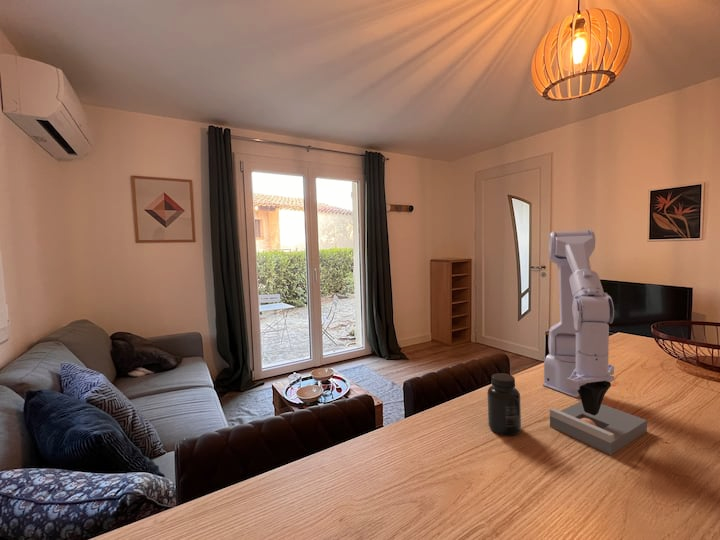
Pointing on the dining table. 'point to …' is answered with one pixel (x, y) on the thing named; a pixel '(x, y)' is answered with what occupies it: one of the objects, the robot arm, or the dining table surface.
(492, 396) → the supplement bottle
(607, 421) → the hole deck
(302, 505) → the dining table surface
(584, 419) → the ball
